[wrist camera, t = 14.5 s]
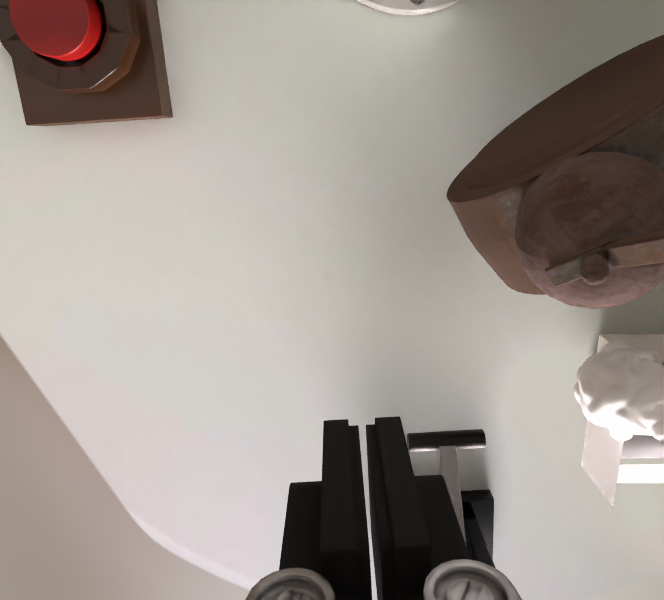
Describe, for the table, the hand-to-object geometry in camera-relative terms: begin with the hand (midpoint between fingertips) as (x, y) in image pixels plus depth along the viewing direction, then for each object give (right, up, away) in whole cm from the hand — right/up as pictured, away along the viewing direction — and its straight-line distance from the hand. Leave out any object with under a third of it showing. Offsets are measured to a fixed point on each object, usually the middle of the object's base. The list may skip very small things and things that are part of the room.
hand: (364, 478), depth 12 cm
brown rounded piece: (+13, +13, +23) cm, 29 cm away
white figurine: (+21, -3, +27) cm, 34 cm away
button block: (-15, +20, +20) cm, 32 cm away
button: (-15, +19, +17) cm, 29 cm away
